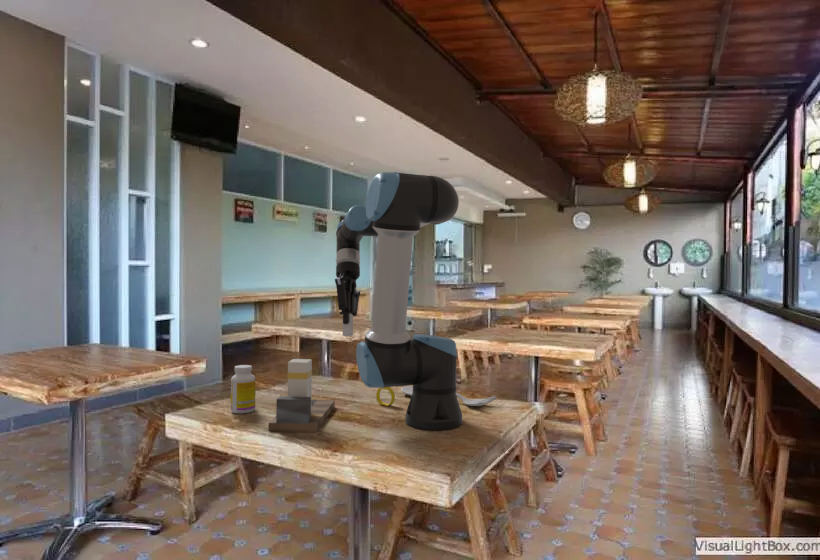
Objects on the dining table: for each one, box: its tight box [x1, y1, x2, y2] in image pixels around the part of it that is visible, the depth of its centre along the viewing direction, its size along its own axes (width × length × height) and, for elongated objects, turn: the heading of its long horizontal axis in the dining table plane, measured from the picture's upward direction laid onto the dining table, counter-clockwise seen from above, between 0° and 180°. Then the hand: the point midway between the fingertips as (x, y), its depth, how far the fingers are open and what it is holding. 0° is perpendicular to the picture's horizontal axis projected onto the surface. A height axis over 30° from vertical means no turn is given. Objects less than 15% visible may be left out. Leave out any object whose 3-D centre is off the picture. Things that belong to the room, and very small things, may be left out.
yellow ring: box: [375, 387, 396, 407], centre depth 157 cm, size 6×3×6 cm, turn 58°
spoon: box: [400, 385, 498, 407], centre depth 163 cm, size 9×32×4 cm, turn 54°
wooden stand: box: [267, 395, 336, 433], centre depth 142 cm, size 24×12×8 cm, turn 177°
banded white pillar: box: [286, 358, 313, 398], centre depth 137 cm, size 5×5×14 cm
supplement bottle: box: [230, 364, 256, 415], centre depth 148 cm, size 7×7×13 cm
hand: (347, 335), depth 156 cm, fingers closed
